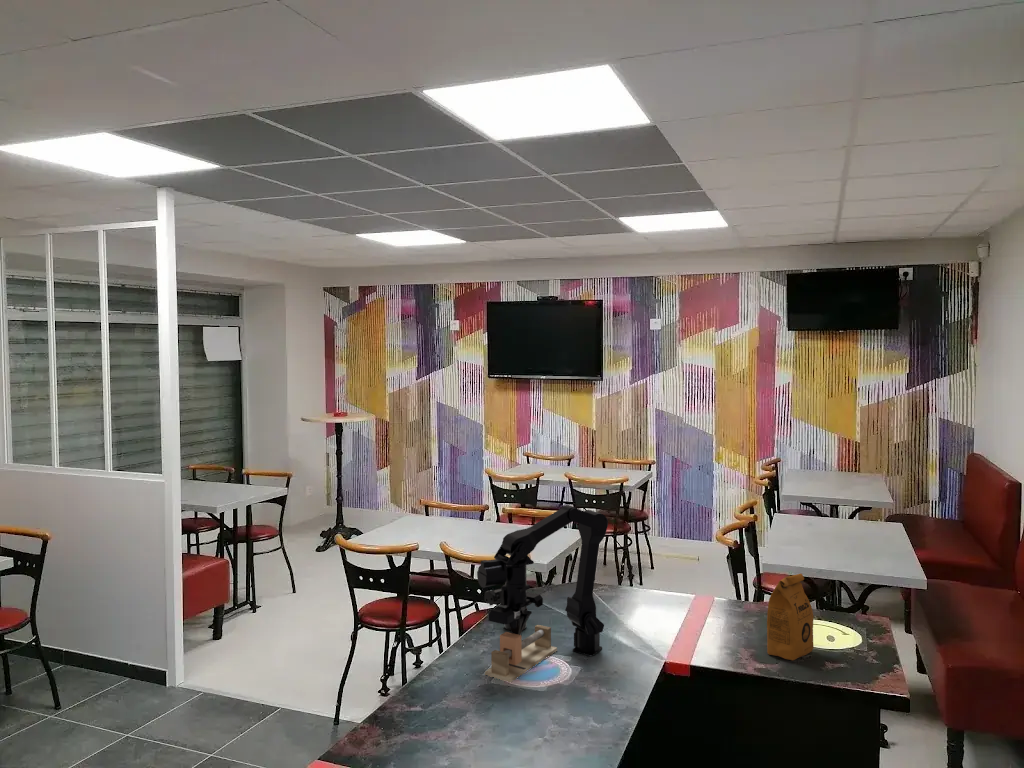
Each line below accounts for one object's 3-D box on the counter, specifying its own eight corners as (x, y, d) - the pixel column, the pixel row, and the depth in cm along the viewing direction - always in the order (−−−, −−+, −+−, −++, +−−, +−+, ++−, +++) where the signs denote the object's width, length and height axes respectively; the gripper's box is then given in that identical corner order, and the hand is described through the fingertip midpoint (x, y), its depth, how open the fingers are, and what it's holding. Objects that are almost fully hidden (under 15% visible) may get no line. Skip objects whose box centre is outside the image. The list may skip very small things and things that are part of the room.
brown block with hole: (506, 657, 198) (506, 631, 198) (521, 661, 195) (521, 635, 195) (500, 661, 195) (499, 635, 195) (515, 665, 193) (515, 639, 192)
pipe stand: (533, 645, 212) (533, 622, 212) (557, 651, 208) (557, 628, 208) (485, 675, 192) (484, 651, 192) (510, 682, 188) (510, 657, 188)
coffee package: (819, 654, 204) (820, 576, 203) (793, 665, 197) (793, 584, 196) (788, 643, 212) (788, 568, 211) (761, 653, 205) (761, 575, 204)
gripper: (510, 568, 209) (510, 622, 210) (471, 585, 193) (471, 644, 194) (543, 574, 203) (543, 630, 203) (506, 593, 187) (506, 653, 188)
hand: (516, 638), depth 197 cm, fingers closed
